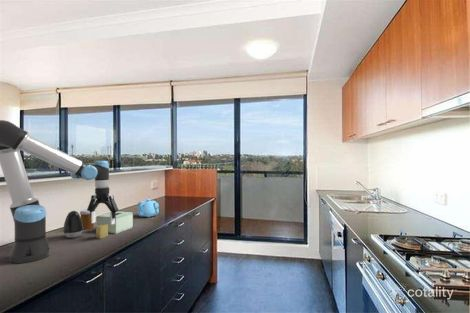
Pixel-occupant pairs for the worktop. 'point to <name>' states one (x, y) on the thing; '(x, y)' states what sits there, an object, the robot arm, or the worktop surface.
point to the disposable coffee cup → (86, 219)
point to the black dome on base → (73, 225)
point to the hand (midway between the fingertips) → (103, 223)
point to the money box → (117, 221)
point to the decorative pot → (147, 208)
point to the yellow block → (101, 231)
